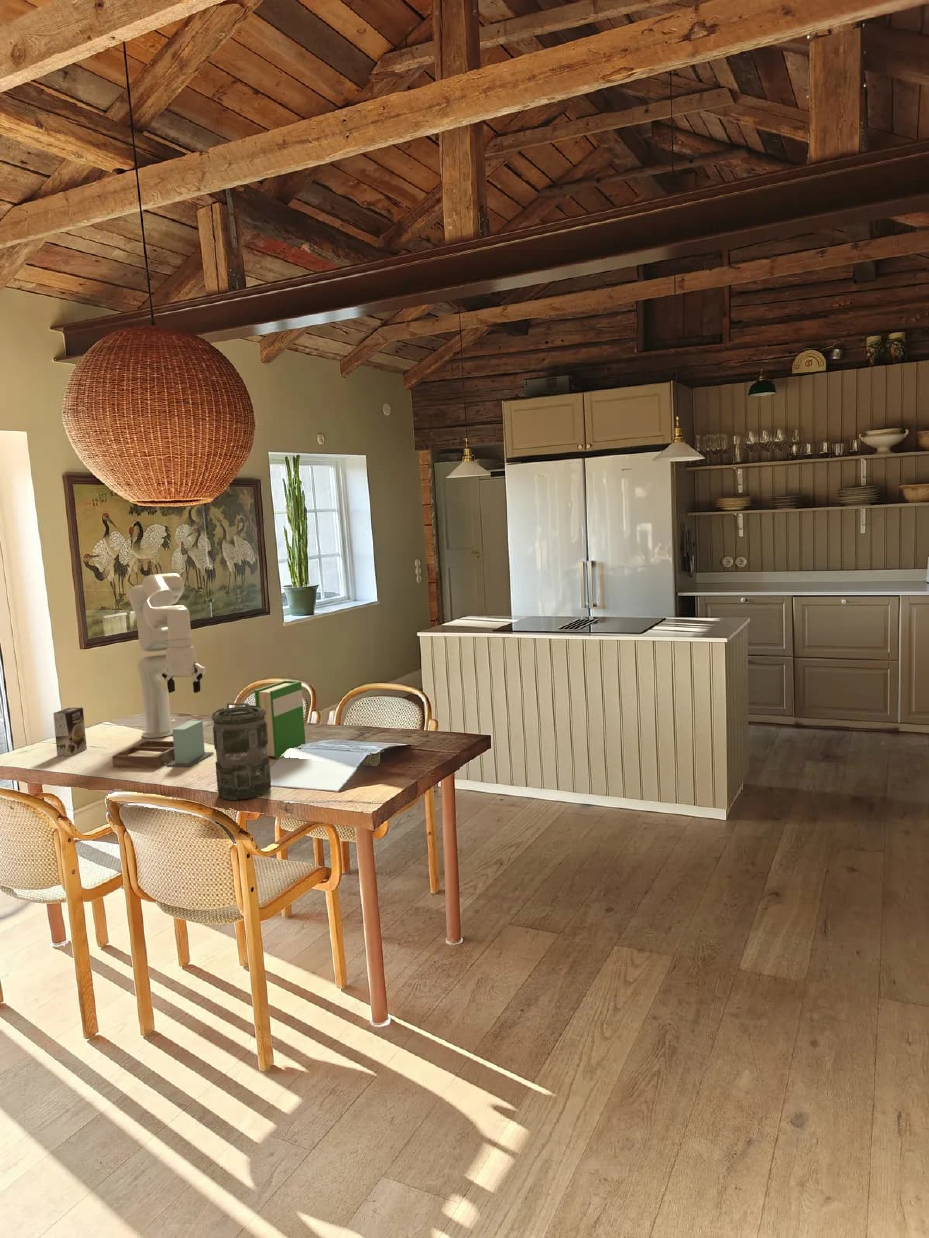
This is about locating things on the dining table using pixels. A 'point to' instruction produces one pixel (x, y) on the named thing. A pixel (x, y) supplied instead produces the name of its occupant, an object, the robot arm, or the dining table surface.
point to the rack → (145, 761)
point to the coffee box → (70, 731)
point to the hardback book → (282, 715)
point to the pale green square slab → (188, 741)
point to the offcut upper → (145, 753)
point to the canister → (241, 751)
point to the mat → (189, 762)
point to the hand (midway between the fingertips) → (184, 692)
